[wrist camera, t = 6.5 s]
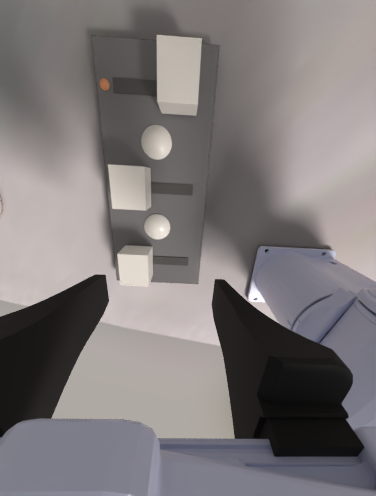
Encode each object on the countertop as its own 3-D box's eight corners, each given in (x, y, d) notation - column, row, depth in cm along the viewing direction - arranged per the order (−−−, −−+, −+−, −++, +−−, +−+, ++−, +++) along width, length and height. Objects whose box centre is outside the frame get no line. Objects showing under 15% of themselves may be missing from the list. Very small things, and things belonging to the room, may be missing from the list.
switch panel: (216, 57, 15) (219, 44, 14) (197, 277, 23) (198, 284, 22) (100, 48, 15) (90, 34, 14) (121, 274, 23) (116, 280, 22)
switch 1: (150, 168, 17) (144, 166, 15) (151, 206, 18) (145, 210, 16) (118, 166, 17) (107, 164, 15) (121, 204, 18) (112, 208, 16)
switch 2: (152, 246, 20) (147, 255, 18) (153, 274, 21) (148, 286, 19) (125, 245, 20) (117, 254, 17) (127, 273, 21) (120, 285, 19)
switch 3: (199, 61, 14) (201, 38, 12) (196, 115, 15) (197, 104, 13) (161, 58, 14) (156, 34, 12) (161, 113, 15) (157, 101, 13)
